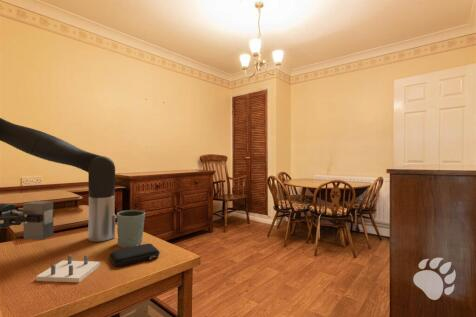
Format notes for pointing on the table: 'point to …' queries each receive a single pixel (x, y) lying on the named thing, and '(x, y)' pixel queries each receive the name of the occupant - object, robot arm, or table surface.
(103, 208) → the robot arm
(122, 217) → the green cup
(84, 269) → the white peg board
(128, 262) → the carrying case or bag
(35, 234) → the block
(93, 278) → the table surface
